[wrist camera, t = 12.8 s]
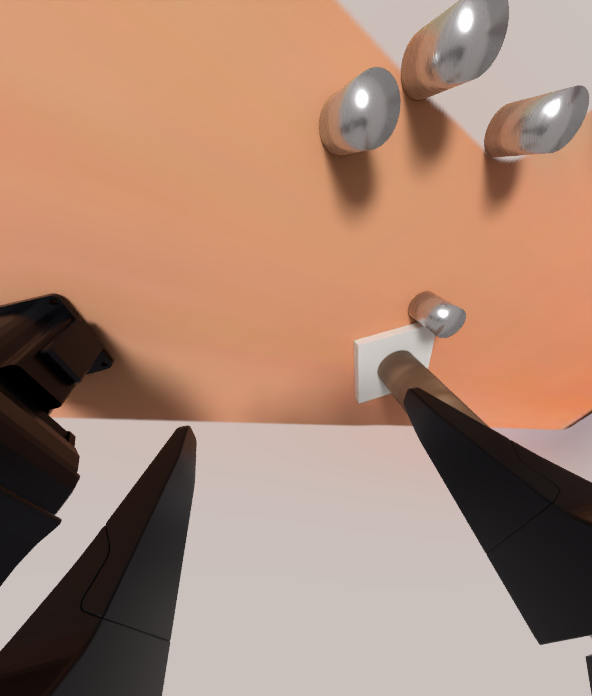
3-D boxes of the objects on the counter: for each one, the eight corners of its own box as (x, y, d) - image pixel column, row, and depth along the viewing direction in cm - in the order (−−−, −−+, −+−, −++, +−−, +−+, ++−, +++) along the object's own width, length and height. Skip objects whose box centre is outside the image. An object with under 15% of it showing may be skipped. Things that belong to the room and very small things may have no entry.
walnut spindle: (370, 379, 28) (467, 512, 17) (389, 347, 26) (513, 476, 15) (400, 382, 30) (506, 505, 19) (420, 352, 28) (552, 471, 16)
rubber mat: (355, 397, 31) (358, 403, 30) (353, 340, 26) (358, 345, 25) (419, 377, 32) (424, 382, 31) (431, 318, 27) (437, 322, 26)
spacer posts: (335, 341, 25) (352, 365, 22) (312, 43, 13) (341, 1, 10) (469, 303, 27) (503, 320, 24) (556, 7, 15) (647, -40, 12)
